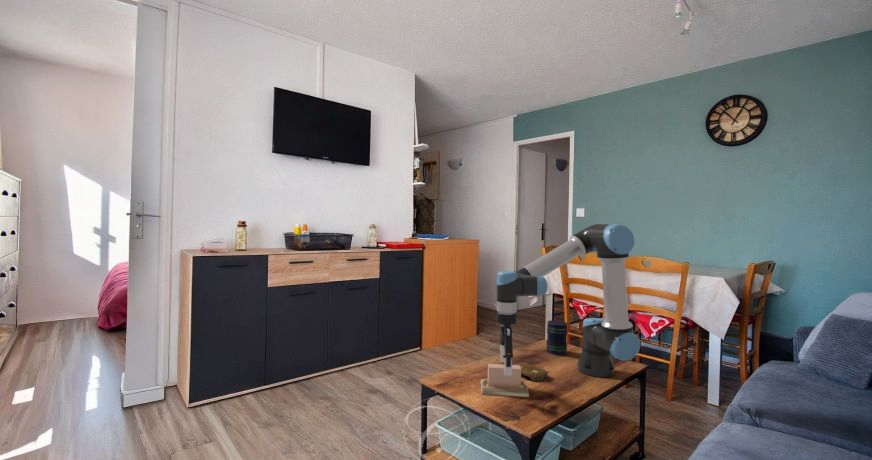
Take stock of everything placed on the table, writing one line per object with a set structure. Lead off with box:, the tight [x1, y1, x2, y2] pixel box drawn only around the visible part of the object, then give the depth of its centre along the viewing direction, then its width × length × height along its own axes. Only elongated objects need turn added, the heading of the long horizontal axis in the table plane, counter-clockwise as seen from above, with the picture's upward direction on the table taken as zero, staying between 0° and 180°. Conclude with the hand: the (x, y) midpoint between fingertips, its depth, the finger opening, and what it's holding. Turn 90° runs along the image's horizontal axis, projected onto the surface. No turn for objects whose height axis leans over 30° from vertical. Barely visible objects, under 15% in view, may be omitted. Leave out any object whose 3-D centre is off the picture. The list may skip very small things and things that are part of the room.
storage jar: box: [546, 319, 568, 356], centre depth 196 cm, size 10×10×15 cm
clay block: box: [487, 363, 522, 388], centre depth 148 cm, size 12×4×8 cm, turn 87°
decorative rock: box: [514, 362, 550, 382], centre depth 164 cm, size 11×4×15 cm
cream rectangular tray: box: [480, 378, 530, 398], centre depth 148 cm, size 10×17×2 cm, turn 87°
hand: (505, 368), depth 148 cm, fingers open, 13 cm apart
